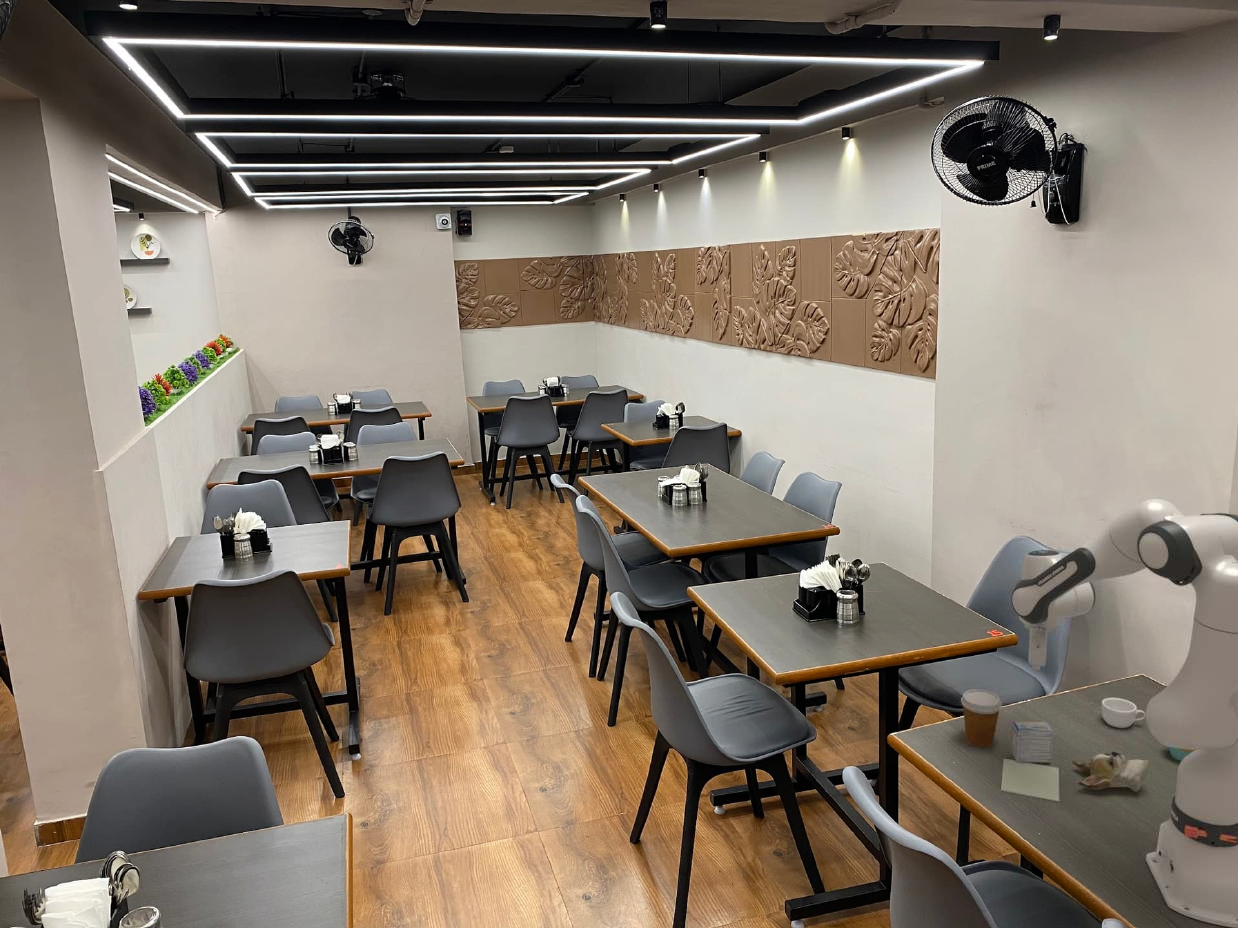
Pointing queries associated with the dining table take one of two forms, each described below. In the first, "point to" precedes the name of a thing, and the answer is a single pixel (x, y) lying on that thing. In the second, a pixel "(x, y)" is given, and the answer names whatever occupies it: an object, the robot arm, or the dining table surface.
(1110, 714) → the teacup
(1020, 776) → the mat
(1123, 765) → the ceramic sculpture
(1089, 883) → the dining table surface
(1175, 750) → the cupcake
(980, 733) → the disposable coffee cup
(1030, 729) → the medicine box
